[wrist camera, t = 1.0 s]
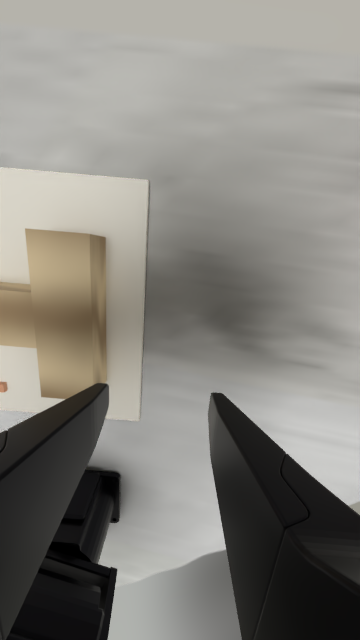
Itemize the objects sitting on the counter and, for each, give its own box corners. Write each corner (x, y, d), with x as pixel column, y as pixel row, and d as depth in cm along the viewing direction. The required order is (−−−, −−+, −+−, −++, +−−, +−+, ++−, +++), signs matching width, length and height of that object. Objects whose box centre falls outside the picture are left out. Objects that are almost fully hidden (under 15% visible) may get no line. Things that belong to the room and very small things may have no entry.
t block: (106, 380, 20) (93, 401, 18) (-29, 369, 20) (-64, 388, 18) (105, 237, 17) (89, 233, 14) (-56, 223, 17) (-105, 217, 14)
